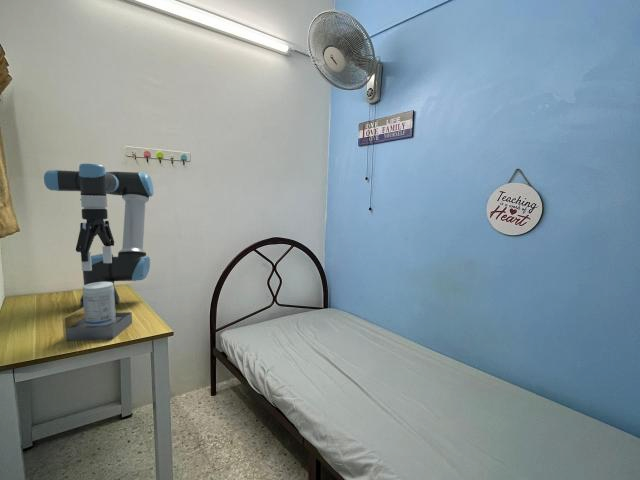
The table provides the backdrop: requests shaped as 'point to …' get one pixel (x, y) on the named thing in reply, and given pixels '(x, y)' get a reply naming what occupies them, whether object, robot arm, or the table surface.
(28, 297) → the table surface
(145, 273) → the robot arm
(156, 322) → the table surface
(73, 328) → the gray square tray
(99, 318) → the supplement tub
